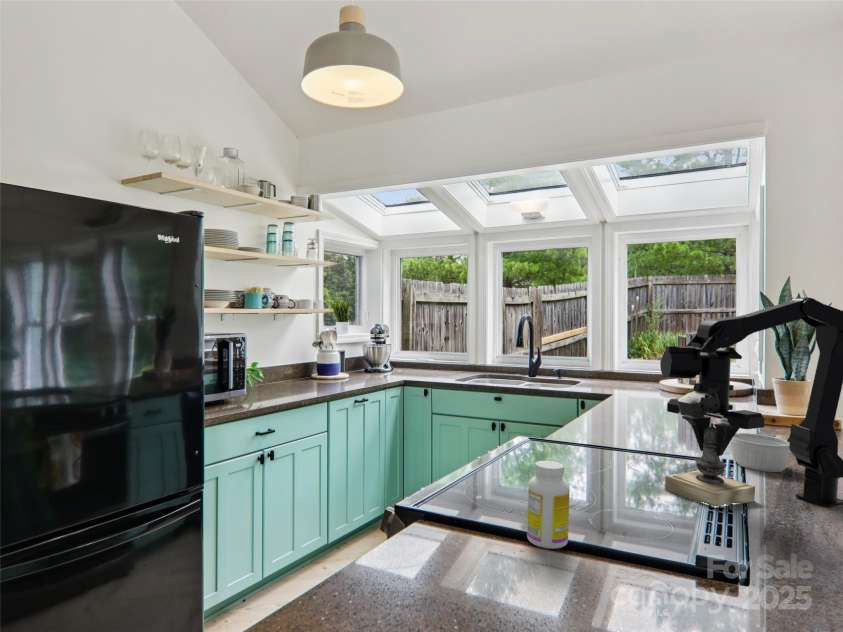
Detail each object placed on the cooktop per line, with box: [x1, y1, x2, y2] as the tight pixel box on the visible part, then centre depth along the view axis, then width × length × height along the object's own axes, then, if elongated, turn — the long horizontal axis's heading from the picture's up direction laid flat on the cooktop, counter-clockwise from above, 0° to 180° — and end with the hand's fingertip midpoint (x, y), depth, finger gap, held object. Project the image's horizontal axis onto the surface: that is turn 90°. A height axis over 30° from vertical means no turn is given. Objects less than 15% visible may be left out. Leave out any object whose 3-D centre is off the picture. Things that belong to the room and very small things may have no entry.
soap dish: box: [664, 470, 756, 506], centre depth 117 cm, size 12×12×3 cm
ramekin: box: [730, 432, 791, 473], centre depth 140 cm, size 13×13×7 cm
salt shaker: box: [694, 422, 727, 483], centre depth 116 cm, size 6×6×12 cm
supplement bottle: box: [526, 460, 571, 550], centre depth 91 cm, size 7×7×13 cm
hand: (711, 453), depth 116 cm, fingers open, 4 cm apart
